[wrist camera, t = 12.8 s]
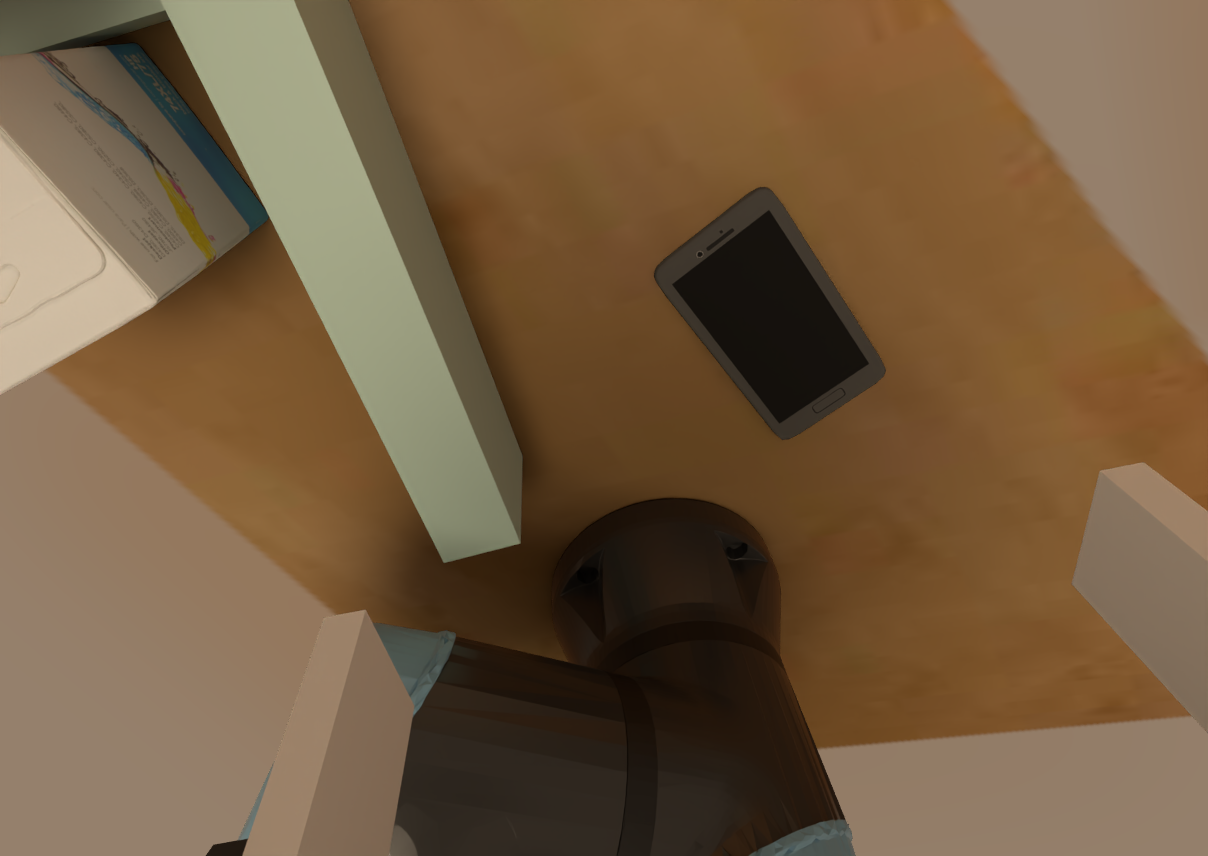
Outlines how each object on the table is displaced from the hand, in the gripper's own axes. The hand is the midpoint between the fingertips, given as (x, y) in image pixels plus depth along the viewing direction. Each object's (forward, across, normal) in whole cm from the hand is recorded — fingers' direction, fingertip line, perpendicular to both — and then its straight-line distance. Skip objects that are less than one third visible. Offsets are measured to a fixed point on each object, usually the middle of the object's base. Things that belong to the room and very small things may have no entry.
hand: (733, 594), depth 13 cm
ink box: (+26, +21, -6) cm, 34 cm away
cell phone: (+26, -8, +8) cm, 29 cm away
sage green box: (+26, +15, 0) cm, 30 cm away
